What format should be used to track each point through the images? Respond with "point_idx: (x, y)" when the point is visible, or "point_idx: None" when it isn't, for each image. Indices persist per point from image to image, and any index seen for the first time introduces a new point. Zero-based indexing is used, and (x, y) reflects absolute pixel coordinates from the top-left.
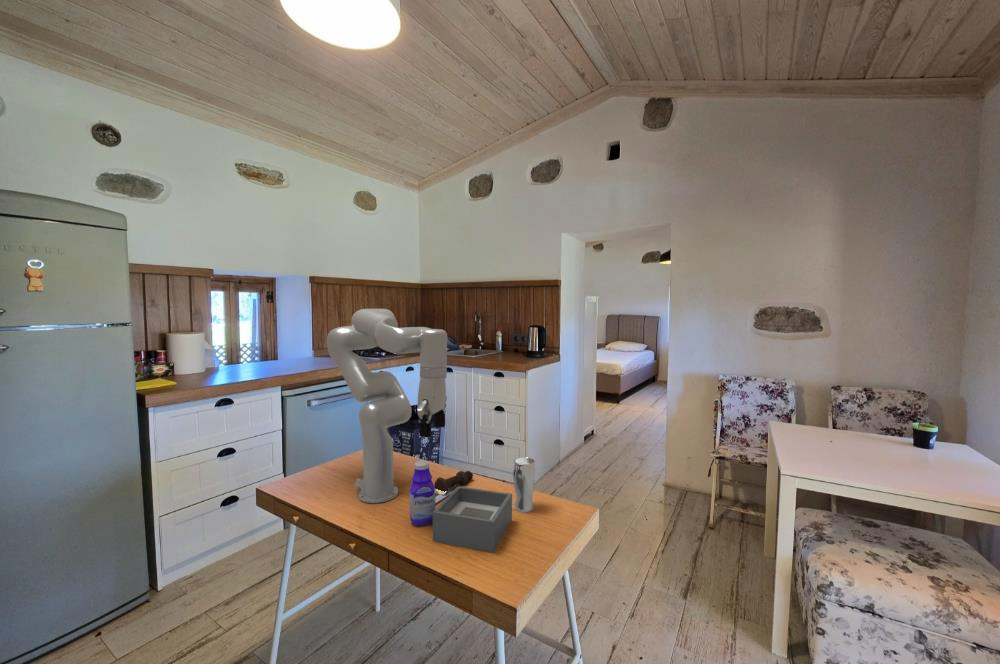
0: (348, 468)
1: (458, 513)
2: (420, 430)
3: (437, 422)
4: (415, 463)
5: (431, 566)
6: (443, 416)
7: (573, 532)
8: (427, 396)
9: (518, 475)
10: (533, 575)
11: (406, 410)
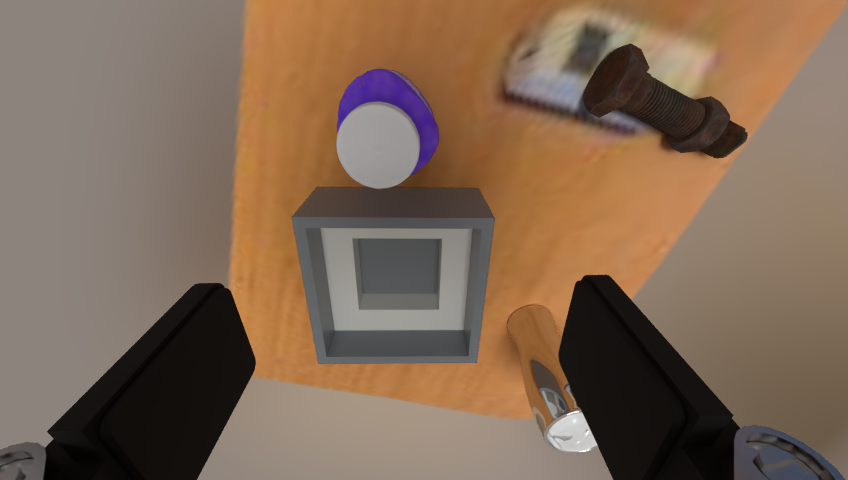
0: None
1: (400, 235)
2: (161, 331)
3: (589, 338)
4: (358, 114)
5: (233, 225)
6: (614, 474)
7: (451, 405)
8: None
9: (534, 393)
10: (304, 377)
11: None
